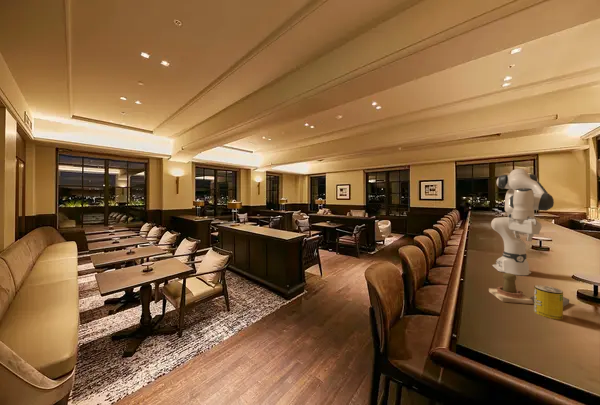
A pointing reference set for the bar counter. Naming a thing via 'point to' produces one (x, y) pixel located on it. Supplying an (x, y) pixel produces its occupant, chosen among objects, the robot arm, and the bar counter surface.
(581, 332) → the bar counter surface
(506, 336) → the bar counter surface
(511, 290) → the cork
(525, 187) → the robot arm
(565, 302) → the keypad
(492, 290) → the square base with ring
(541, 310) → the yellow can
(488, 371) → the bar counter surface
